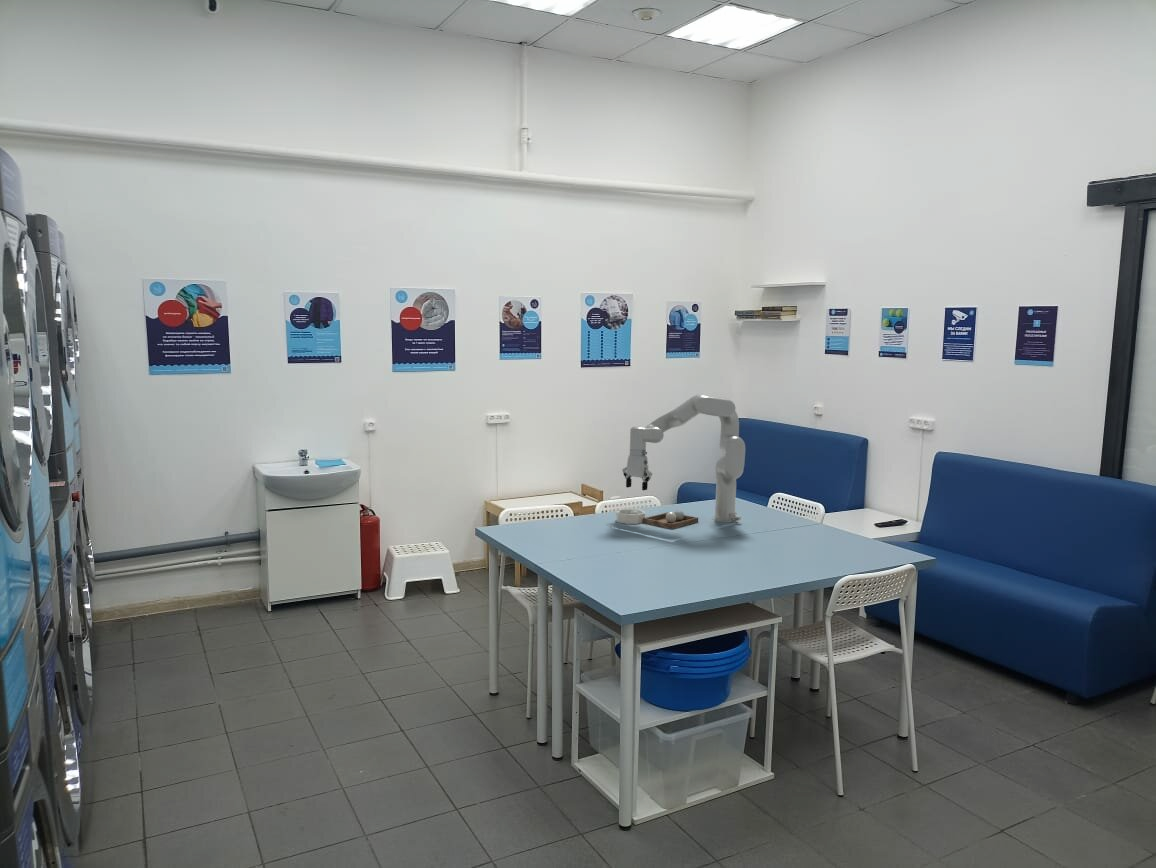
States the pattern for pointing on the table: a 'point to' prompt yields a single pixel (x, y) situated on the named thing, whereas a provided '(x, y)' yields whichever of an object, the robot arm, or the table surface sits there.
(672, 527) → the tray
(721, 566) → the table surface
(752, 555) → the table surface
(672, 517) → the pebble
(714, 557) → the table surface
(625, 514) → the bowl
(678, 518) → the pebble
